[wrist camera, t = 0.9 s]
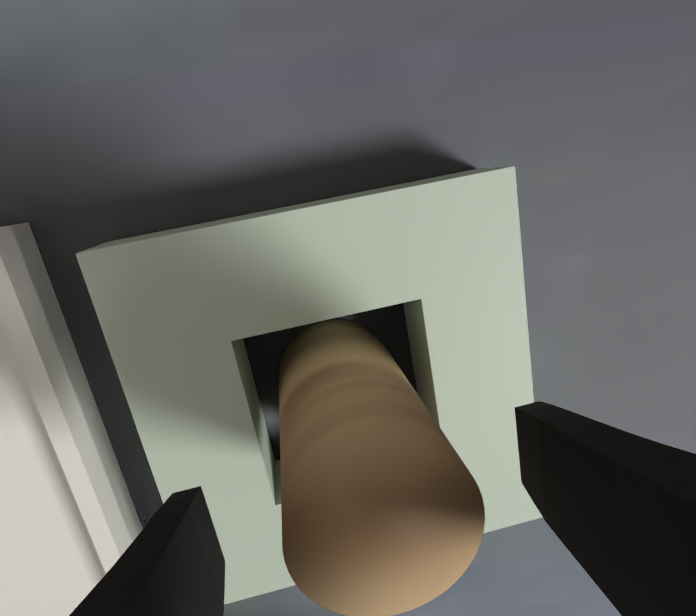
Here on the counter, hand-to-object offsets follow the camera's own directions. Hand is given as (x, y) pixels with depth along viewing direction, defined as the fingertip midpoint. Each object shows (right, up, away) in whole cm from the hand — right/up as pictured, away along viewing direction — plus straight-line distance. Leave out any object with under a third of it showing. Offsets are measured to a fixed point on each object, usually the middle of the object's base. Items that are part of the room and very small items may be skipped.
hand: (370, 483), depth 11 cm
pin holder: (-1, +2, +6) cm, 7 cm away
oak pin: (-1, +2, +6) cm, 7 cm away
